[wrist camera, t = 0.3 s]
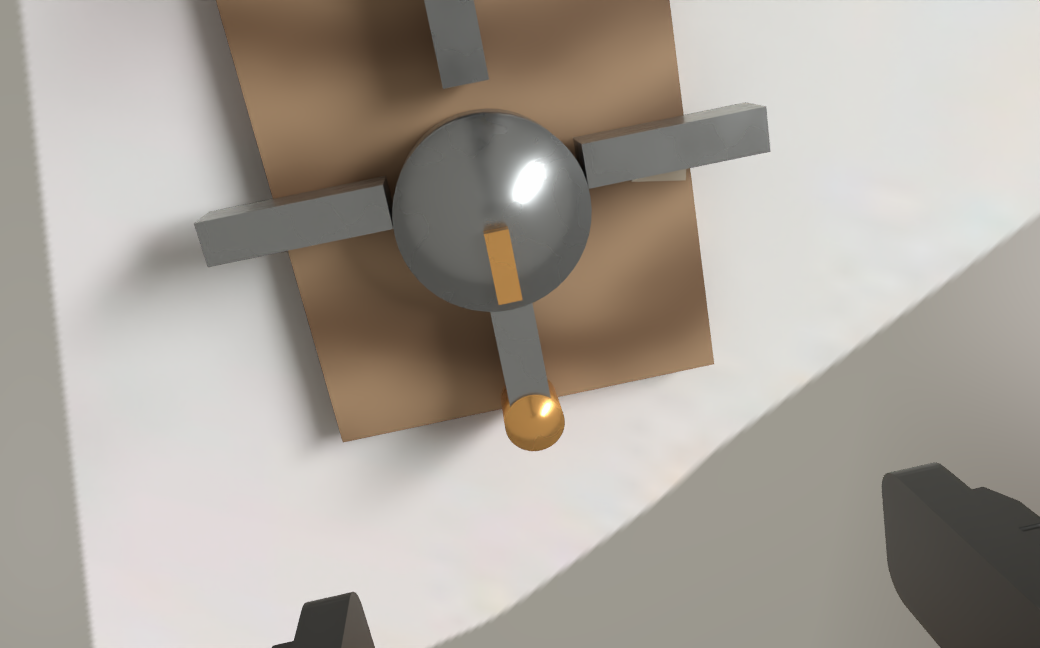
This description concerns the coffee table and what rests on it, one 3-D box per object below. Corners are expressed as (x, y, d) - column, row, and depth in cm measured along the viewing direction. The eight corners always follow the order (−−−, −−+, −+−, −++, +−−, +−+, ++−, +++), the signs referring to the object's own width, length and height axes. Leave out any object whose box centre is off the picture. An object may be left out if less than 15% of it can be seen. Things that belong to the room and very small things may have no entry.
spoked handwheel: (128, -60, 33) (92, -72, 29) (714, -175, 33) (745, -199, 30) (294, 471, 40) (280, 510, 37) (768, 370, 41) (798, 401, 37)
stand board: (209, -54, 35) (197, -59, 33) (642, -139, 35) (653, -149, 33) (346, 427, 42) (342, 445, 40) (704, 352, 42) (715, 366, 40)
